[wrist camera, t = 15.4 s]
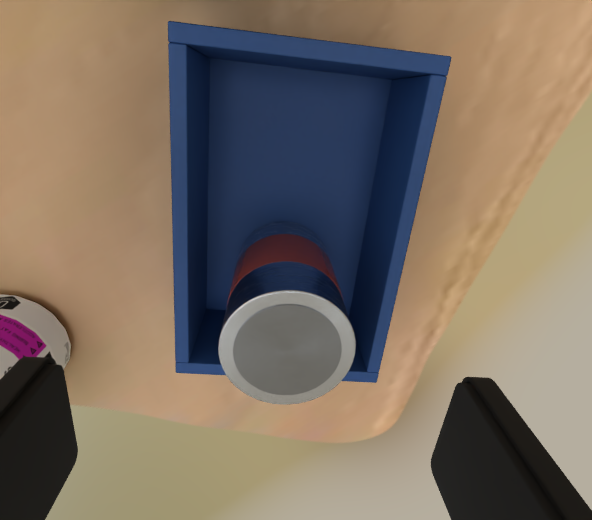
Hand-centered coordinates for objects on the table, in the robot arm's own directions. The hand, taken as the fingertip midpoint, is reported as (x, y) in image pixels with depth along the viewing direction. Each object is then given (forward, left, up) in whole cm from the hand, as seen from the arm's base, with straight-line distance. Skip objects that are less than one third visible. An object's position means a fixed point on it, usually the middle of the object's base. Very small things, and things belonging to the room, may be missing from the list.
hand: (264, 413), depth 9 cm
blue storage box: (0, +1, -19) cm, 19 cm away
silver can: (+4, +1, -19) cm, 19 cm away
